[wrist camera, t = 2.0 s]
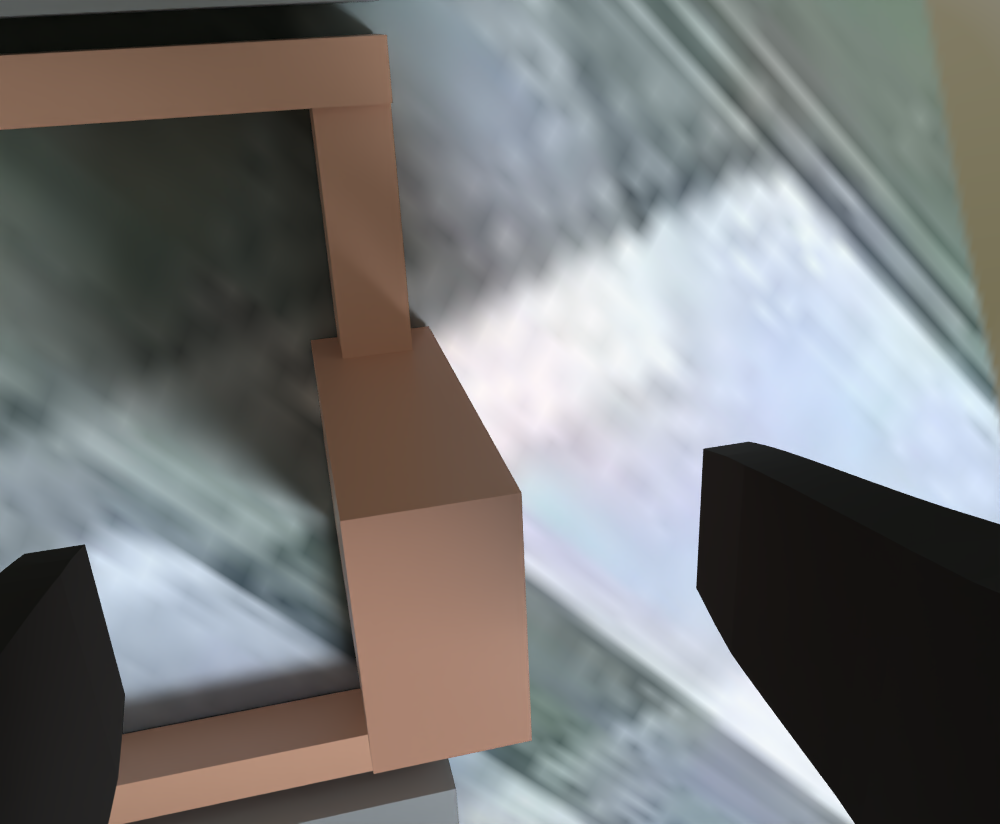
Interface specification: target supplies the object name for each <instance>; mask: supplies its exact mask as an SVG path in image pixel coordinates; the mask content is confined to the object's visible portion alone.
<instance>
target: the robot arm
mask: <svg viewBox="0 0 1000 824" xmlns="http://www.w3.org/2000/svg"><path fill="white" fill-rule="evenodd" d="M696 588H697V590H698V592H699V594H700V596H701V598H702V600H703V602H704V604H705V606H706V608H707V610H708V612H709V614H710V616H711V618H712V620H713V622H714V623H715V625H716V627H717V629H718V631H719V632H720V634H721V636H722V638H723V640H724V641H725V643H726V645H727V647H728V649H729V650H730V652H731V654H732V655H733V657H734V658H735V659H736V661H737V662H738V664H739V665H740V667H741V668H742V669H743V671H744V672H745V674H746V675H747V676H748V678H749V679H750V680H751V682H752V683H753V685H754V686H755V687H756V689H757V690H758V691H759V693H760V694H761V696H762V697H763V698H764V700H765V701H766V702H767V704H768V705H769V706H770V708H771V709H772V710H773V712H774V713H775V715H776V716H777V717H778V719H779V720H780V721H781V723H782V724H783V725H784V727H785V728H786V729H787V731H788V732H789V733H790V735H791V736H792V737H793V739H794V740H795V741H796V743H797V744H798V745H799V747H800V748H801V749H802V751H803V752H804V754H805V755H806V756H807V758H808V759H809V760H810V762H811V763H812V764H813V766H814V767H815V768H816V770H817V771H818V772H819V774H820V775H821V776H822V778H823V779H824V780H825V782H826V783H827V784H828V786H829V787H830V789H831V790H832V791H833V793H834V794H835V795H836V797H837V798H838V799H839V801H840V802H841V804H842V805H843V807H844V808H845V810H846V811H847V813H848V814H849V816H850V817H851V819H852V820H853V822H854V823H855V824H1000V524H997V523H994V522H991V521H987V520H984V519H981V518H978V517H975V516H971V515H968V514H965V513H962V512H958V511H955V510H952V509H949V508H946V507H943V506H940V505H937V504H934V503H931V502H928V501H925V500H922V499H919V498H916V497H913V496H910V495H907V494H904V493H901V492H899V491H896V490H893V489H890V488H887V487H884V486H882V485H879V484H876V483H873V482H870V481H868V480H865V479H862V478H859V477H857V476H854V475H851V474H848V473H846V472H843V471H840V470H837V469H835V468H832V467H829V466H826V465H824V464H821V463H818V462H815V461H812V460H810V459H807V458H804V457H801V456H798V455H795V454H792V453H789V452H786V451H783V450H780V449H776V448H773V447H769V446H766V445H762V444H757V443H753V442H744V443H737V444H731V445H725V446H718V447H712V448H705V449H703V468H702V487H701V507H700V527H699V546H698V566H697V586H696ZM124 701H125V693H124V689H123V686H122V682H121V678H120V674H119V671H118V667H117V663H116V659H115V656H114V652H113V648H112V644H111V641H110V637H109V633H108V629H107V626H106V622H105V618H104V614H103V611H102V607H101V603H100V599H99V596H98V592H97V588H96V584H95V581H94V577H93V573H92V569H91V566H90V562H89V558H88V554H87V551H86V547H85V545H79V546H72V547H66V548H59V549H53V550H46V551H40V552H33V553H27V554H24V555H22V556H21V557H20V558H18V559H17V560H16V561H14V562H13V563H12V564H10V565H9V566H8V567H7V568H5V569H4V570H3V571H2V572H1V573H0V824H108V823H109V819H110V814H111V810H112V805H113V800H114V796H115V791H116V786H117V781H118V775H119V764H120V754H121V743H122V730H123V716H124Z"/></svg>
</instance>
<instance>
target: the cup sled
mask: <svg viewBox="0 0 1000 824" xmlns="http://www.w3.org/2000/svg"><path fill="white" fill-rule="evenodd" d="M391 103H393V102H392V90H391V79H390V68H389V56H388V45H387V35H384V34H361V35H342V36H323V37H305V38H286V39H267V40H249V41H230V42H212V43H193V44H174V45H156V46H137V47H118V48H100V49H81V50H62V51H44V52H25V53H6V54H0V130H5V129H20V128H34V127H49V126H63V125H78V124H92V123H107V122H121V121H136V120H150V119H165V118H180V117H194V116H209V115H223V114H238V113H252V112H267V111H281V110H296V109H309V111H310V119H311V127H312V135H313V143H314V151H315V159H316V168H317V176H318V184H319V192H320V200H321V208H322V216H323V224H324V233H325V241H326V249H327V257H328V265H329V273H330V281H331V289H332V298H333V306H334V314H335V322H336V330H337V337H334V338H325V339H317V340H311V347H312V354H313V361H314V369H315V376H316V384H317V391H318V398H319V406H320V413H321V420H322V428H323V435H324V443H325V450H326V457H327V465H328V472H329V479H330V487H331V494H332V502H333V509H334V516H335V524H336V530H337V537H338V543H339V550H340V557H341V563H342V570H343V576H344V583H345V589H346V596H347V603H348V609H349V616H350V622H351V629H352V635H353V642H354V648H355V655H356V662H357V668H358V675H359V681H360V688H359V689H354V690H349V691H344V692H338V693H333V694H328V695H323V696H318V697H313V698H308V699H302V700H297V701H292V702H287V703H282V704H277V705H272V706H266V707H261V708H256V709H251V710H246V711H241V712H235V713H230V714H225V715H220V716H215V717H210V718H205V719H199V720H194V721H189V722H184V723H179V724H174V725H169V726H163V727H158V728H153V729H148V730H143V731H138V732H133V733H127V734H122V743H121V754H120V764H119V775H118V781H117V786H116V791H115V796H114V800H113V805H112V810H111V814H110V819H109V823H108V824H125V823H130V822H134V821H139V820H144V819H148V818H153V817H158V816H162V815H167V814H172V813H177V812H181V811H186V810H191V809H195V808H200V807H205V806H210V805H214V804H219V803H224V802H228V801H233V800H238V799H242V798H247V797H252V796H257V795H261V794H266V793H271V792H275V791H280V790H285V789H290V788H294V787H299V786H304V785H308V784H313V783H318V782H322V781H327V780H332V779H337V778H341V777H346V776H351V775H355V774H360V773H365V772H369V771H373V773H374V774H376V773H381V772H386V771H390V770H395V769H400V768H404V767H409V766H414V765H419V764H423V763H428V762H433V761H437V760H442V759H447V758H451V757H456V756H461V755H465V754H470V753H475V752H479V751H484V750H489V749H494V748H498V747H503V746H508V745H512V744H517V743H522V742H526V741H531V740H532V736H531V712H530V688H529V663H528V639H527V615H526V591H525V567H524V542H523V518H522V494H521V491H520V489H519V487H518V486H517V484H516V482H515V480H514V478H513V477H512V475H511V473H510V471H509V470H508V468H507V466H506V464H505V462H504V461H503V459H502V457H501V455H500V453H499V452H498V450H497V448H496V446H495V444H494V443H493V441H492V439H491V437H490V435H489V434H488V432H487V430H486V428H485V426H484V425H483V423H482V421H481V419H480V418H479V416H478V414H477V412H476V410H475V409H474V407H473V405H472V403H471V401H470V400H469V398H468V396H467V394H466V392H465V391H464V389H463V387H462V385H461V383H460V382H459V380H458V378H457V376H456V374H455V373H454V371H453V369H452V367H451V366H450V364H449V362H448V360H447V358H446V357H445V355H444V353H443V351H442V349H441V348H440V346H439V344H438V342H437V340H436V339H435V337H434V335H433V333H432V331H431V330H430V328H429V326H427V327H419V328H411V326H410V314H409V303H408V292H407V281H406V269H405V258H404V247H403V236H402V224H401V213H400V202H399V191H398V179H397V168H396V157H395V146H394V135H393V123H392V112H391Z"/></svg>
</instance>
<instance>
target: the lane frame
mask: <svg viewBox="0 0 1000 824" xmlns="http://www.w3.org/2000/svg"><path fill="white" fill-rule="evenodd" d="M368 1H377V0H0V19H4V18H25V17H47V16H68V15H90V14H111V13H132V12H154V11H175V10H197V9H218V8H240V7H261V6H283V5H304V4H326V3H347V2H368ZM125 824H459V819H458V807H457V795H456V787H455V783H454V779H453V775H452V772H451V768H450V764H449V760H448V758H447V759H442V760H437V761H433V762H428V763H423V764H419V765H414V766H409V767H404V768H400V769H395V770H390V771H386V772H381V773H376V774H374V773H373V771H369V772H365V773H360V774H355V775H351V776H346V777H341V778H337V779H332V780H327V781H322V782H318V783H313V784H308V785H304V786H299V787H294V788H290V789H285V790H280V791H275V792H271V793H266V794H261V795H257V796H252V797H247V798H242V799H238V800H233V801H228V802H224V803H219V804H214V805H210V806H205V807H200V808H195V809H191V810H186V811H181V812H177V813H172V814H167V815H162V816H158V817H153V818H148V819H144V820H139V821H134V822H130V823H125Z"/></svg>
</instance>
